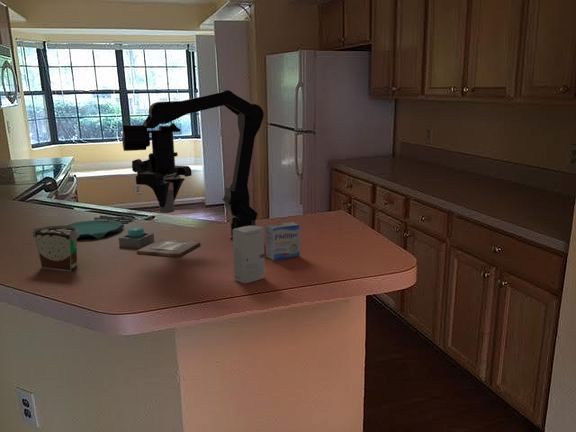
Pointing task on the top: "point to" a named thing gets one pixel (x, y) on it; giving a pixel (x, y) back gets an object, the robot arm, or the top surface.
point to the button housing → (136, 241)
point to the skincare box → (248, 253)
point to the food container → (57, 247)
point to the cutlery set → (100, 226)
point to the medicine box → (282, 241)
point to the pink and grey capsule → (168, 200)
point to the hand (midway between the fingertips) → (167, 205)
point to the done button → (135, 232)
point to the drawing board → (168, 248)
